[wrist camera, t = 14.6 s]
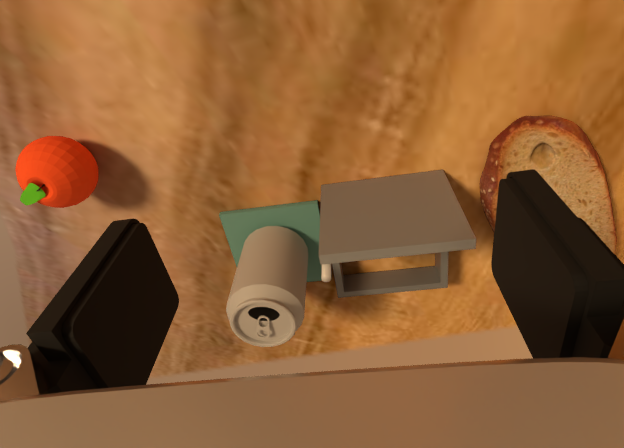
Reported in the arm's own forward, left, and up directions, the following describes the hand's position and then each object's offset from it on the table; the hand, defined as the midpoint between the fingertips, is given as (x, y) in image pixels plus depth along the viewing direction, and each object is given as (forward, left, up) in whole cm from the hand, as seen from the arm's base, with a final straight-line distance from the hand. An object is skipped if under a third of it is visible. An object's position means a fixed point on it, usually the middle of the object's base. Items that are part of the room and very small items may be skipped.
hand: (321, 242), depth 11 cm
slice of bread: (-22, +20, -31) cm, 43 cm away
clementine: (+28, +8, -31) cm, 42 cm away
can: (+9, +22, -30) cm, 38 cm away
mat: (+9, +22, -30) cm, 39 cm away
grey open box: (-4, +22, -30) cm, 38 cm away
